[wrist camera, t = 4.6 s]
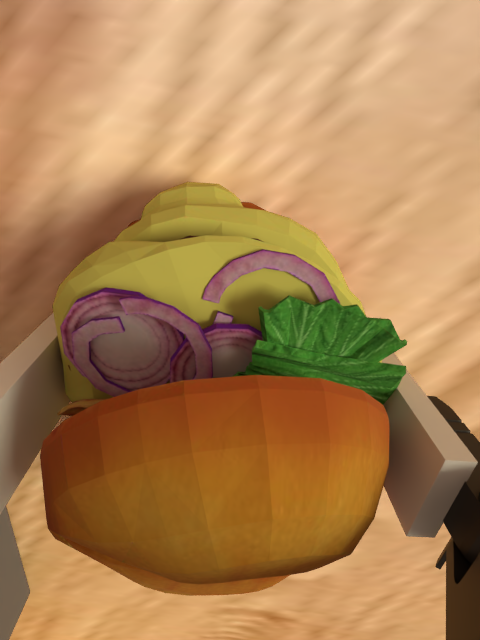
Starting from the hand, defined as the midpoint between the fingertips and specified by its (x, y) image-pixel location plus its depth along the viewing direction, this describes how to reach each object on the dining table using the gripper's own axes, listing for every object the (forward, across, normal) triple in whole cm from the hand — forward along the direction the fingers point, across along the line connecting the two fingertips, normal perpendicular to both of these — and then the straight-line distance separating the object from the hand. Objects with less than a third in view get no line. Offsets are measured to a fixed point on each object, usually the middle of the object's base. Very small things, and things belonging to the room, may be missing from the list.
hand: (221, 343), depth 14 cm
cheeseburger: (+1, 0, 0) cm, 1 cm away
